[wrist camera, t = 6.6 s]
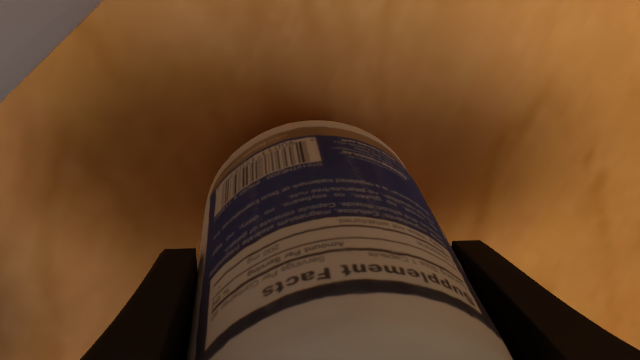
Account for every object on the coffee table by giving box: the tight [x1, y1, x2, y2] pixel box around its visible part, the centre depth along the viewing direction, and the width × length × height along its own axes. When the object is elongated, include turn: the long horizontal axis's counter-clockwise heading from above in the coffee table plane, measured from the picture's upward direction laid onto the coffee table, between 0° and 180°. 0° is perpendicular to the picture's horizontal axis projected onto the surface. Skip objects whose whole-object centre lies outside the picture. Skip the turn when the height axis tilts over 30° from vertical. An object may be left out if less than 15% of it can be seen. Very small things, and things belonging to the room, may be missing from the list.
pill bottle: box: [186, 120, 513, 360], centre depth 10 cm, size 5×5×10 cm
